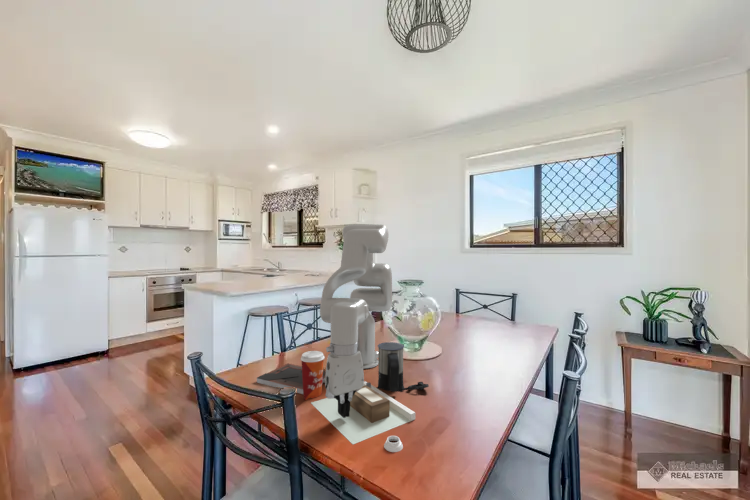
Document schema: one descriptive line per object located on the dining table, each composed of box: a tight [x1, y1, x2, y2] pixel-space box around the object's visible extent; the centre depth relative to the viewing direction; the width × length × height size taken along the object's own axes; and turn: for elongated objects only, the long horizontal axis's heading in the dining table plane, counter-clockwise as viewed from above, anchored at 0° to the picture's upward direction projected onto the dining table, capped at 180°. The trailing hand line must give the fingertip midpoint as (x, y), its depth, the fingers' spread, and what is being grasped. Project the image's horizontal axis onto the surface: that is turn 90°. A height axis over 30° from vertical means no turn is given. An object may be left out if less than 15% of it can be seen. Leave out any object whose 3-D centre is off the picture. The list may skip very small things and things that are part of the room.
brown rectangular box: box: [350, 385, 390, 423], centre depth 91 cm, size 12×6×5 cm, turn 35°
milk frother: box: [377, 341, 430, 393], centre depth 108 cm, size 14×16×15 cm
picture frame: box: [256, 362, 326, 395], centre depth 116 cm, size 16×2×22 cm
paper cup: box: [300, 350, 325, 401], centre depth 102 cm, size 8×8×14 cm
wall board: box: [310, 380, 416, 445], centre depth 91 cm, size 20×25×5 cm
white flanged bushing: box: [383, 435, 404, 453], centre depth 75 cm, size 5×3×5 cm
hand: (343, 415), depth 86 cm, fingers closed
